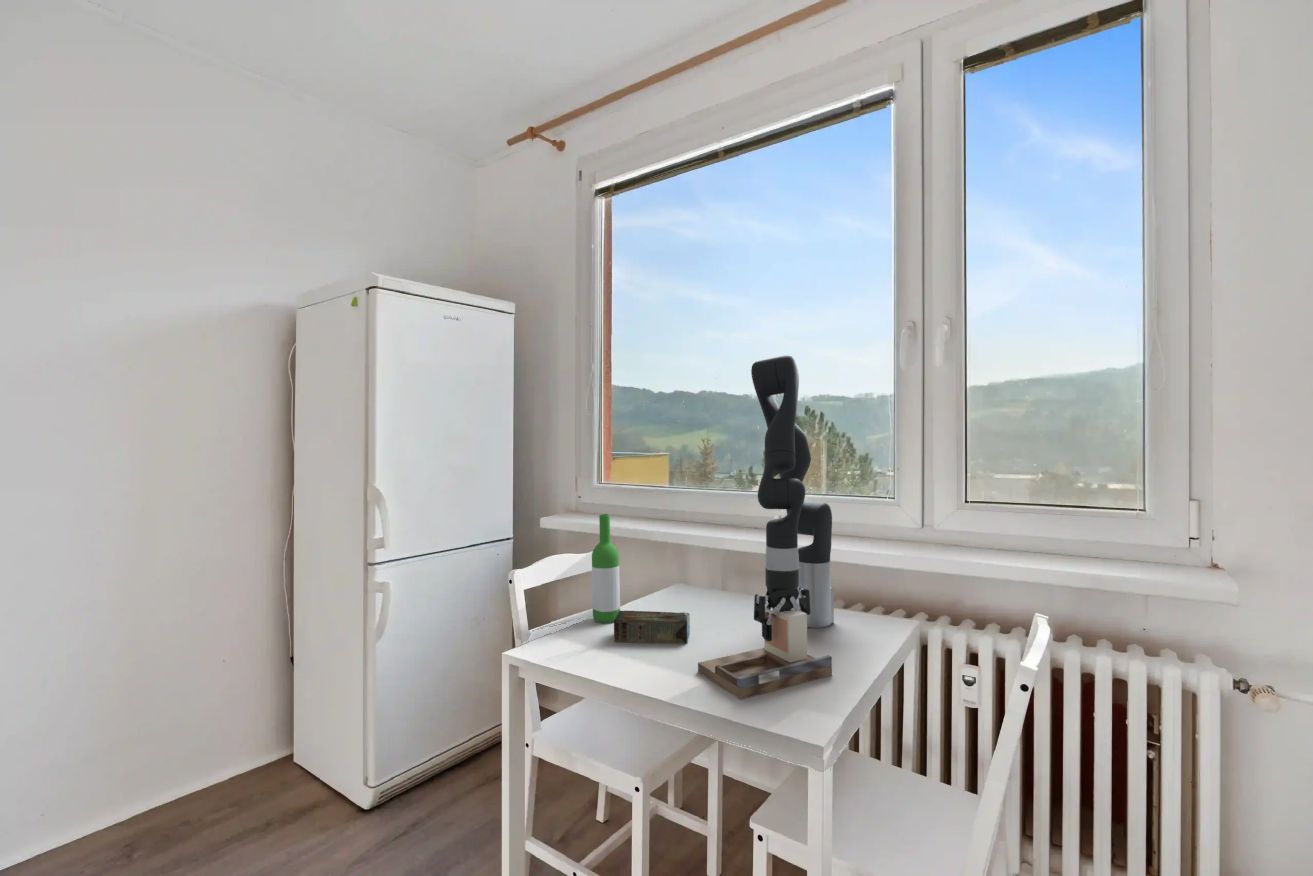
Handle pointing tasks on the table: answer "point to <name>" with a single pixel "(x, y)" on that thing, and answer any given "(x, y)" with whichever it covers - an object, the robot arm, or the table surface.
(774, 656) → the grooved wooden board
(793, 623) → the tea box
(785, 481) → the robot arm
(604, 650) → the table surface
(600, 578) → the wine bottle
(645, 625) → the beverage carton
